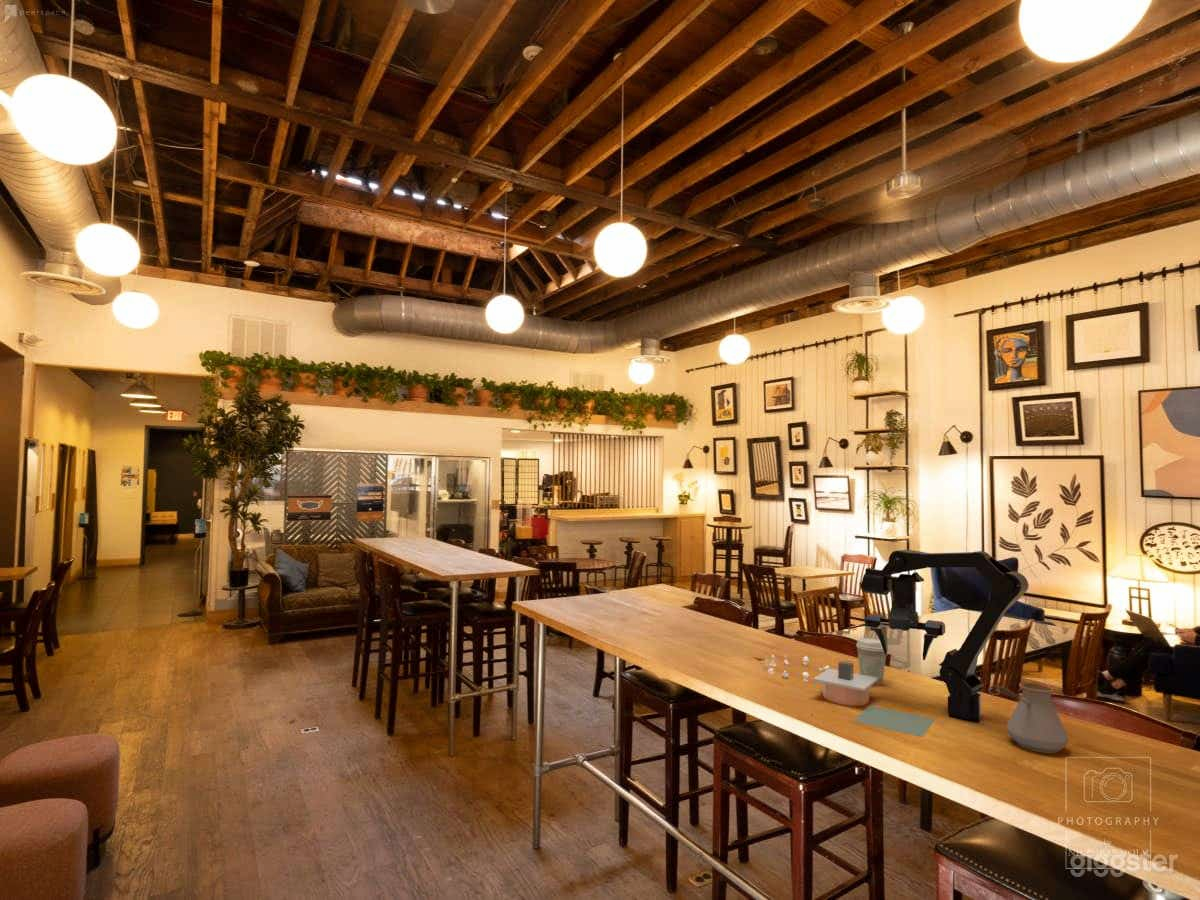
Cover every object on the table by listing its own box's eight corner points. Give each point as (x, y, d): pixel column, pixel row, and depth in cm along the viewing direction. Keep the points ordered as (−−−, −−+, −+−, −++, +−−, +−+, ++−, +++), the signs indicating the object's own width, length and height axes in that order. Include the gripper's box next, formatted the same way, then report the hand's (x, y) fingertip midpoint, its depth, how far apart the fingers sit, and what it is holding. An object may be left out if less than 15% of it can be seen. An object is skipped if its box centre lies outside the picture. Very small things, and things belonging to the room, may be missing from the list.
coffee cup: (854, 684, 186) (854, 641, 187) (857, 676, 194) (857, 636, 194) (886, 689, 182) (886, 645, 183) (888, 681, 190) (888, 639, 190)
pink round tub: (873, 699, 172) (873, 679, 172) (861, 710, 163) (861, 689, 163) (831, 691, 179) (831, 672, 179) (818, 700, 170) (818, 680, 170)
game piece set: (788, 661, 211) (788, 649, 211) (843, 676, 195) (843, 663, 195) (749, 669, 199) (749, 657, 200) (804, 686, 183) (804, 673, 184)
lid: (878, 680, 172) (878, 662, 173) (864, 691, 162) (864, 672, 162) (828, 670, 180) (829, 653, 180) (813, 680, 170) (813, 663, 170)
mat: (934, 721, 157) (934, 719, 157) (922, 739, 145) (922, 737, 145) (870, 707, 166) (870, 705, 166) (853, 723, 154) (853, 721, 154)
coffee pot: (1025, 733, 150) (1024, 667, 151) (1080, 752, 140) (1079, 681, 141) (967, 747, 141) (966, 677, 142) (1021, 768, 130) (1020, 693, 131)
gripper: (859, 597, 171) (860, 657, 170) (938, 605, 160) (939, 669, 159) (869, 592, 180) (870, 649, 179) (945, 599, 169) (946, 660, 168)
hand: (904, 657), depth 171 cm, fingers open, 9 cm apart
